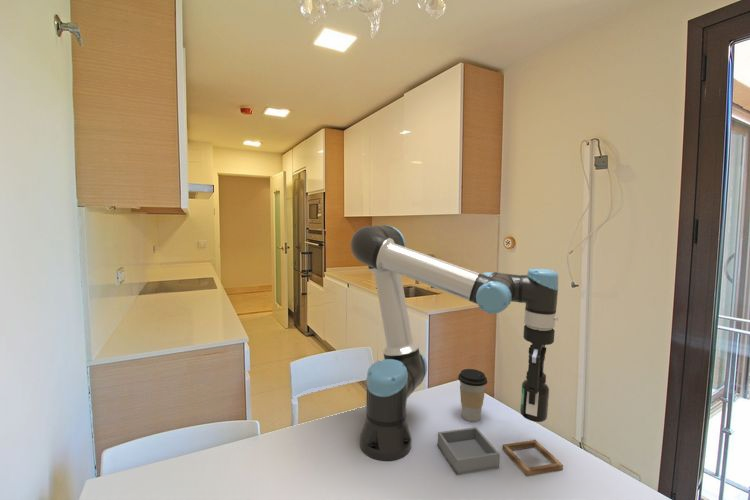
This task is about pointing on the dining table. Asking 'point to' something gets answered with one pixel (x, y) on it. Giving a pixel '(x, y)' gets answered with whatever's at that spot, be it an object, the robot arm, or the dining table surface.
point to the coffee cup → (472, 393)
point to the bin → (468, 450)
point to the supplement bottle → (542, 400)
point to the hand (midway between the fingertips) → (533, 407)
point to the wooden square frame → (537, 469)
